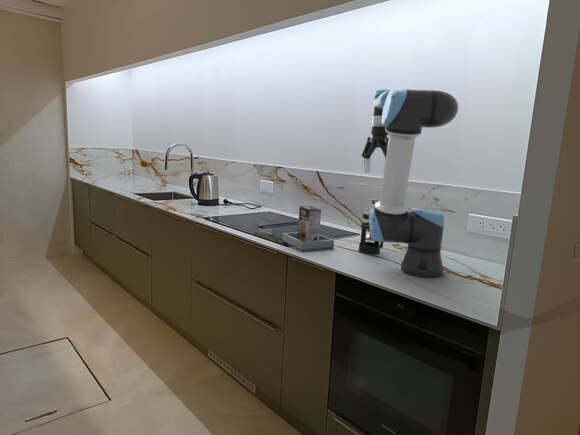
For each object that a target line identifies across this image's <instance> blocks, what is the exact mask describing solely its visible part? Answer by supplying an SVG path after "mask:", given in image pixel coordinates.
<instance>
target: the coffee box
mask: <svg viewBox="0 0 580 435" xmlns="http://www.w3.org/2000/svg"><path fill="white" fill-rule="evenodd" d="M298 212H299V213H298V228H297V229H298V231H297V232H298V240H300V241H302V242H309V241H319V234H320V230H321V220H322V219H321V218H322V209H320V208H317V207H314V206H311V205H310V206H308V205H307V206H306V205H301V206H299V211H298Z"/></svg>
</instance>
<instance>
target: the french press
mask: <svg viewBox="0 0 580 435" xmlns="http://www.w3.org/2000/svg"><path fill="white" fill-rule="evenodd" d="M368 201H371V202H372V203H371V204H372V208H371V210H372V209H374V207H375V204H376V203H375V202H379V201H380V199H376V198H369V199H368ZM369 213H370V211H363V212H362V211H361V214H362V218H363V219H364V220H368V221H369ZM360 228H361V234H360V242H359V244H358V249H357V251H358V253H361V254H365V255H379V254H381V249H383V247H384V242H381V241H374V240H373V239H372V237H371V234H370V233H369V235H368V234H367V230H370V226H369V222H362V223H360Z"/></svg>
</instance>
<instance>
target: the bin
mask: <svg viewBox="0 0 580 435" xmlns="http://www.w3.org/2000/svg"><path fill="white" fill-rule="evenodd" d="M282 240H283V241H285V242H287V243H289V244H290V245H292V246H293V247H294V249H295V248H296V249H295V250H298V251H299V252H301V253H302V252H313V251H316V252H317V251H325V250H326V251H327V250H334V248H335V247H334V246H335V245H334V244H335V239H332V238H330V237H328V236H325V235H322V234H320V233H319V241H309V242H302V241H300V240H298V231H297V232H296V231H295V232H283V233H282ZM293 247H292V248H293Z"/></svg>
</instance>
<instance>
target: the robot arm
mask: <svg viewBox="0 0 580 435" xmlns="http://www.w3.org/2000/svg"><path fill="white" fill-rule="evenodd" d="M458 111H459V103H458V101H457V99H456V97H454V96H453V95H452V94H450V93H448V92H445V91H441V90H432V89H431V90H427V89H415V88H414V89H412V88H396V89H392V90H390V89H386V88H385V89H381V88H380V89H376V90H375V91H374V97H373V111H372V120H371V125H372V127H371V135H372V137H371V136H368V137H367V140H366V144H365V146H364V148H363V150H362V153H361V158H363V159H364V160H363V161H364V164H363V165H364V168H363V174H370V172H371V171H370V170H371V162H372V161H371V157H372V155H373V154H374V152H375V150H376V149H377V148H380V149H381V151H382V154H383V155H384V157H385V160H384V164H383V177H382V185H381V190H380V191H381V192H380V199H379V201H376V203H374V208H373V209H372V208H371V209H370V210H369V212H370V213H369V220H368V223H369V226H370V229H369V232H370V233H369V235H370V234H371V237H372V239H373V240H374V241H381V242H383V243H398V244H401V243H402V244H407V250H406V253H405V254H404V257H403V260H402V261H401V263H400V270H401V271H402V272H404V273H406V274H409V275H411V276H416V277H419V278H420V277H421V278H440V277H442V276H444V270H445V268H444V265H443V261H442V260H443V259H442V255H441V252H442V251H441V249H442V245H443V244H442V241H443V234H444V228H445V216H444V215H443V214H442V213H440V212H438V211H436V210H435V211H434V210H431V209H427V208H422V207H421V208H420V207H412V208H411V210H410V211H409V208H408V206H406V204H405V203H406V196H407V190H408V184H409V178H410V172H411V168H412V167H411V166H412V162H413V161H412V160H413V155H414V149H415V144H416V143H415V142H416V139H417V137H418V136H420V135H421V134H422V130H423V128H439V127H443V126H445V125H448V124H449V123H450V122H452V121H453V120H454V119H455V118H456V116H457V114H458ZM374 241H373V242H374Z"/></svg>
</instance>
